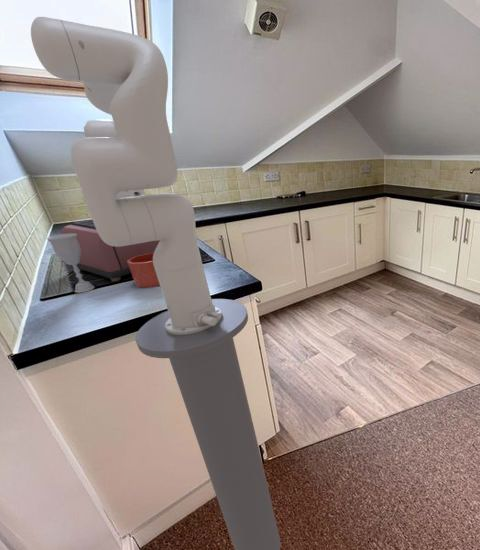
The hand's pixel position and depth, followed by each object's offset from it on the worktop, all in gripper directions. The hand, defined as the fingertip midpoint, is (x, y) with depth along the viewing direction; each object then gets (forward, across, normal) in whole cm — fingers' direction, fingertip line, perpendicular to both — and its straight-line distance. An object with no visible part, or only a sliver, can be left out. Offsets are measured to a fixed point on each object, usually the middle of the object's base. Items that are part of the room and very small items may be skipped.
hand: (138, 228), depth 97 cm
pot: (+18, 0, 0) cm, 18 cm away
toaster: (+19, +26, -11) cm, 34 cm away
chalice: (+19, +15, +14) cm, 28 cm away
